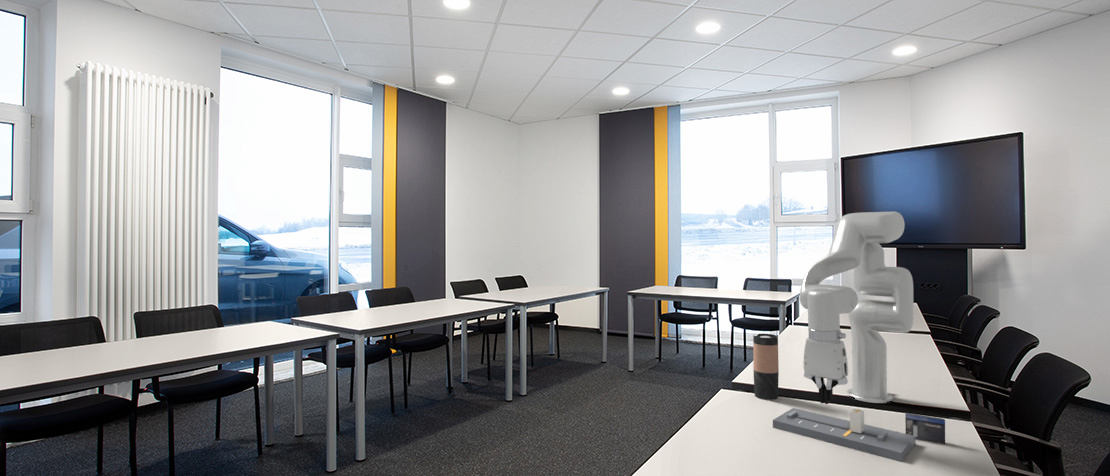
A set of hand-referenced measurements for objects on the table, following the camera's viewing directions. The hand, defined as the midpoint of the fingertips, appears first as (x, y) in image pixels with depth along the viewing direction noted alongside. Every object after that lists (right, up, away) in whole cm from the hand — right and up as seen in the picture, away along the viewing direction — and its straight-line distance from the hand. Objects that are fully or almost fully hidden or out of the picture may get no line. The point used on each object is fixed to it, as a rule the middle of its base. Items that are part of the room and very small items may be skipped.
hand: (825, 402), depth 138 cm
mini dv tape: (+22, -8, -7) cm, 24 cm away
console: (+2, -8, -4) cm, 9 cm away
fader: (+5, -5, -7) cm, 10 cm away
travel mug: (-4, -8, +29) cm, 30 cm away
